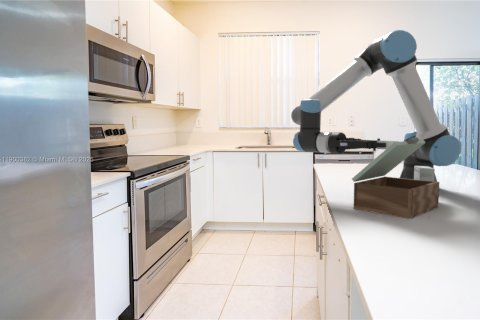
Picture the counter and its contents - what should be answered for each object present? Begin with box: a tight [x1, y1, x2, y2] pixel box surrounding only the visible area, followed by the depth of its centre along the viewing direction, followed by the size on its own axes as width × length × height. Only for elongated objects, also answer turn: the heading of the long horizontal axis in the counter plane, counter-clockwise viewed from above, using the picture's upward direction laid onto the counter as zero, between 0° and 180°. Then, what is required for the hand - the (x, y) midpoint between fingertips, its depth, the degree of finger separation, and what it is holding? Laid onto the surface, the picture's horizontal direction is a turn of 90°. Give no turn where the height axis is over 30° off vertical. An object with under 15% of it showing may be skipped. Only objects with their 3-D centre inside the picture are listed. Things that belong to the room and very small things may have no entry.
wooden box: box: [353, 176, 440, 219], centre depth 126 cm, size 21×18×8 cm
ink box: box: [414, 166, 435, 181], centre depth 138 cm, size 9×5×12 cm, turn 168°
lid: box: [351, 137, 426, 183], centre depth 126 cm, size 21×20×1 cm
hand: (397, 145), depth 124 cm, fingers closed
